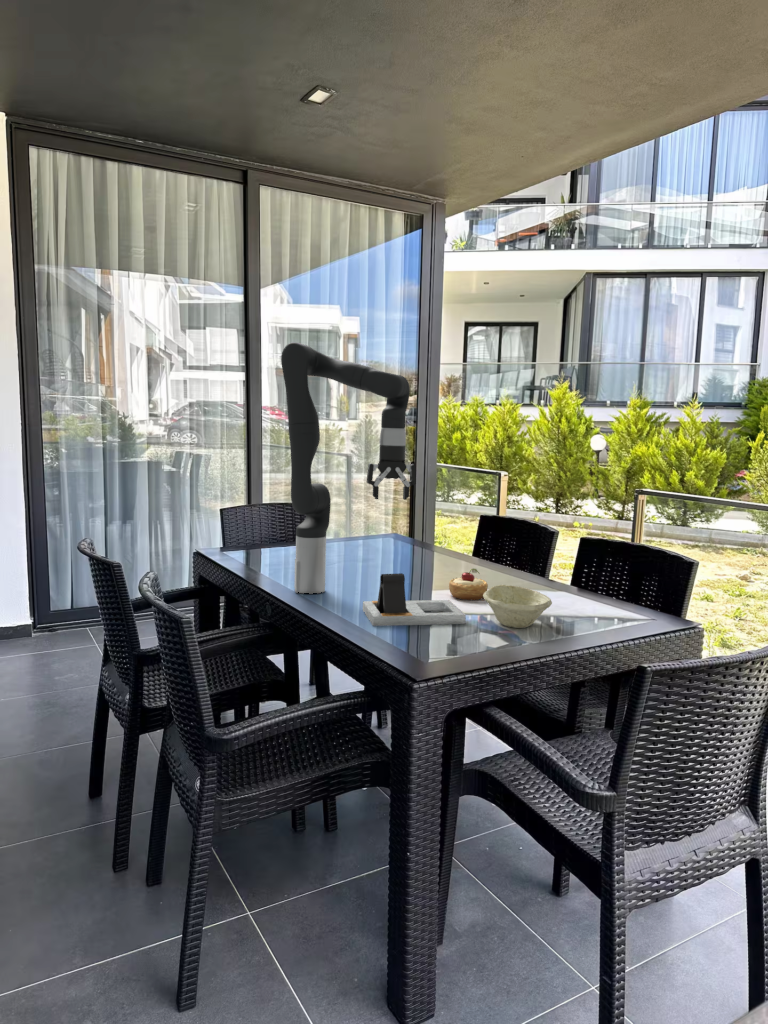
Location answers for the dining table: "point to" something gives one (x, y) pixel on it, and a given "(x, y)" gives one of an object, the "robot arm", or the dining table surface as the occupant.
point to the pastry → (468, 587)
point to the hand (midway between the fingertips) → (390, 499)
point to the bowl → (516, 605)
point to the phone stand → (392, 594)
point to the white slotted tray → (416, 614)
